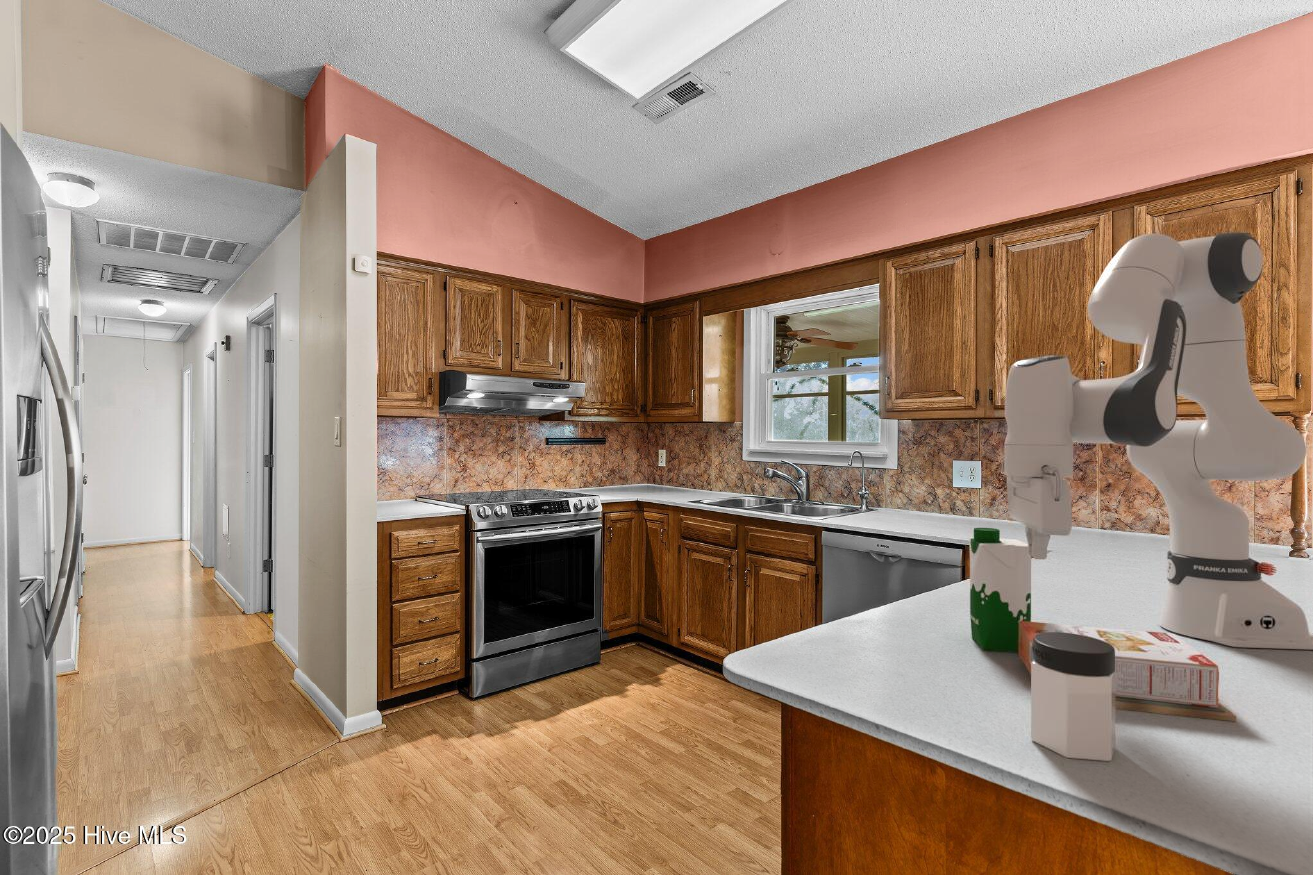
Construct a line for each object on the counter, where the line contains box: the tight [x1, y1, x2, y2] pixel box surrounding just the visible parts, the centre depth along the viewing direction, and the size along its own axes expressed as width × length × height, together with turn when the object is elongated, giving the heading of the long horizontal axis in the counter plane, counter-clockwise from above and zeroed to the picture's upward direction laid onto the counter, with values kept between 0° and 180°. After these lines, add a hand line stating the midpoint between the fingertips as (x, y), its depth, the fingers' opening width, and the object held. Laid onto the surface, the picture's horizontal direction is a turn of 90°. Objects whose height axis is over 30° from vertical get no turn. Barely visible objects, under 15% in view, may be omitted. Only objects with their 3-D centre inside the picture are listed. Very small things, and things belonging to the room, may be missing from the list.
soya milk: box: [968, 527, 1032, 654], centre depth 112 cm, size 9×9×20 cm
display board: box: [1115, 696, 1237, 722], centre depth 93 cm, size 20×18×1 cm
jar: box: [1030, 632, 1116, 762], centre depth 76 cm, size 9×8×12 cm
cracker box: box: [1018, 621, 1220, 708], centre depth 93 cm, size 14×6×21 cm
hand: (1037, 557), depth 96 cm, fingers closed
